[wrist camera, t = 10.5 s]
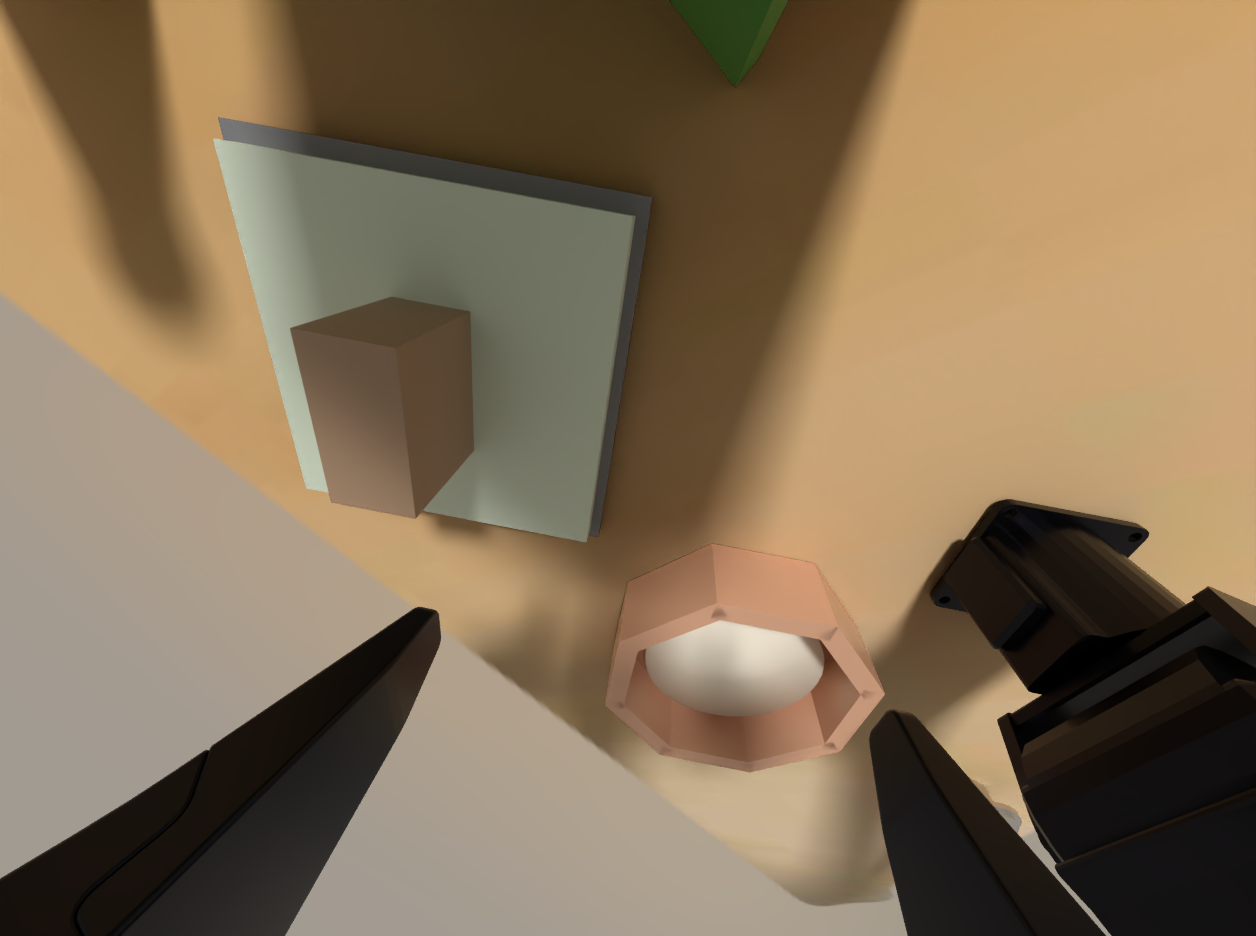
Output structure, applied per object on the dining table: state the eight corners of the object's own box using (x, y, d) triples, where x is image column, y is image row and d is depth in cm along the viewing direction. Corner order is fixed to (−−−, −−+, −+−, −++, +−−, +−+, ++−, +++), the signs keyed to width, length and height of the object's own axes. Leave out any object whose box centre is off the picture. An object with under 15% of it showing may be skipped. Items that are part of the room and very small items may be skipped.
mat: (652, 197, 15) (651, 196, 15) (599, 529, 23) (598, 536, 23) (233, 120, 16) (217, 117, 15) (319, 475, 23) (311, 481, 23)
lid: (635, 215, 15) (611, 220, 10) (590, 529, 22) (562, 625, 17) (238, 142, 15) (16, 109, 10) (320, 477, 23) (214, 557, 17)
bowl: (888, 577, 23) (925, 643, 19) (798, 717, 29) (813, 784, 26) (639, 529, 23) (631, 586, 19) (606, 679, 30) (596, 742, 26)
